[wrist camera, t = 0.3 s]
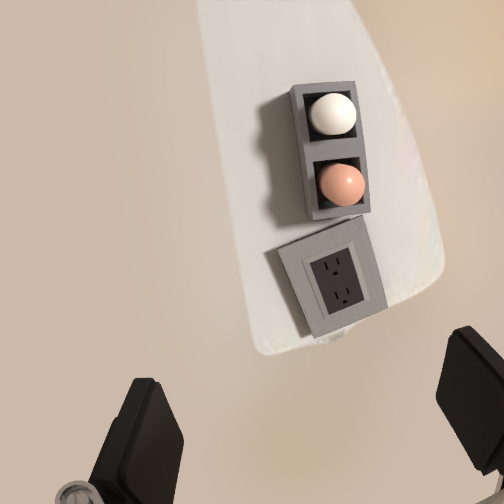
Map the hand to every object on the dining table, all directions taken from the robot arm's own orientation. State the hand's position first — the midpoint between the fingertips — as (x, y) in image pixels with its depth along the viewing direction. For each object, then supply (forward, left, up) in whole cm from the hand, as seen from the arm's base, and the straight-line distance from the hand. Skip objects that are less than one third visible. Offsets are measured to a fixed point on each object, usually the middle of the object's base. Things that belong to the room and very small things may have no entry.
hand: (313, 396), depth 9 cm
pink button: (-2, +8, -27) cm, 28 cm away
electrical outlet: (+10, +7, -30) cm, 32 cm away
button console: (-6, +8, -29) cm, 31 cm away
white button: (-9, +8, -27) cm, 29 cm away
